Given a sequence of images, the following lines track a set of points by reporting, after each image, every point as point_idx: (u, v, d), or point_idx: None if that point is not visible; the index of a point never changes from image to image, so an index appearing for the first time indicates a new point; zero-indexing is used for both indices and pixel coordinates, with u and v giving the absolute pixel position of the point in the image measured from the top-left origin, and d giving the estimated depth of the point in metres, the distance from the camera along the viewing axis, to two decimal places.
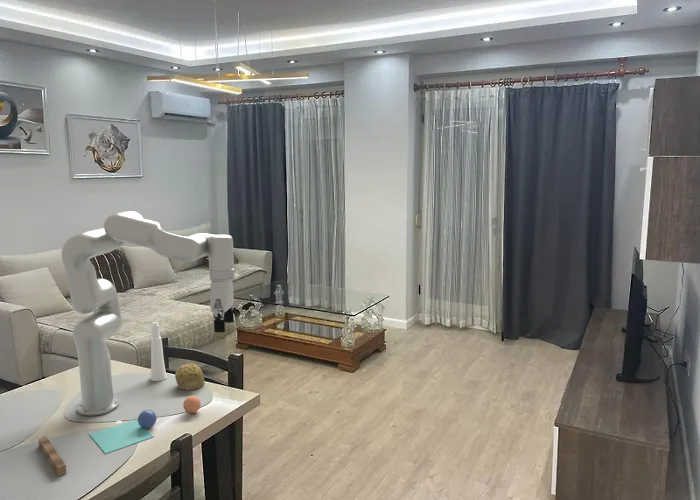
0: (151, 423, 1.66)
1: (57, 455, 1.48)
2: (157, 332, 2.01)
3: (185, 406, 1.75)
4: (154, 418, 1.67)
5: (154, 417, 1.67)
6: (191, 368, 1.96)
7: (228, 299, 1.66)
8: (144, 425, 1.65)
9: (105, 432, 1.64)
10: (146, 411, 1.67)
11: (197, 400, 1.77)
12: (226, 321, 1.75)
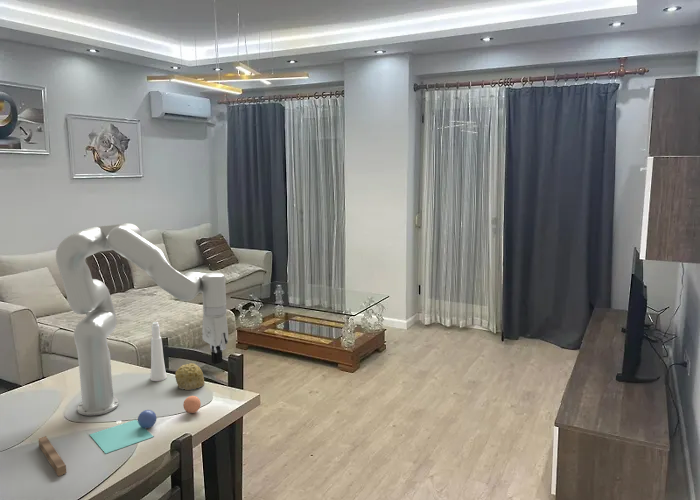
0: (151, 423, 1.66)
1: (57, 455, 1.48)
2: (157, 332, 2.01)
3: (185, 406, 1.75)
4: (154, 418, 1.67)
5: (154, 417, 1.67)
6: (191, 368, 1.96)
7: None
8: (144, 425, 1.65)
9: (105, 432, 1.64)
10: (146, 411, 1.67)
11: (197, 400, 1.77)
12: None
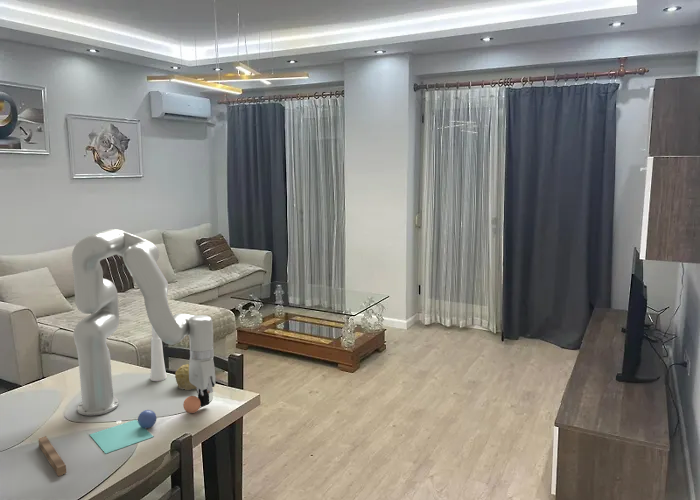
0: (151, 423, 1.66)
1: (57, 455, 1.48)
2: None
3: (185, 406, 1.75)
4: (154, 418, 1.67)
5: (154, 417, 1.67)
6: None
7: None
8: (144, 425, 1.65)
9: (105, 432, 1.64)
10: (146, 411, 1.67)
11: (197, 400, 1.77)
12: None
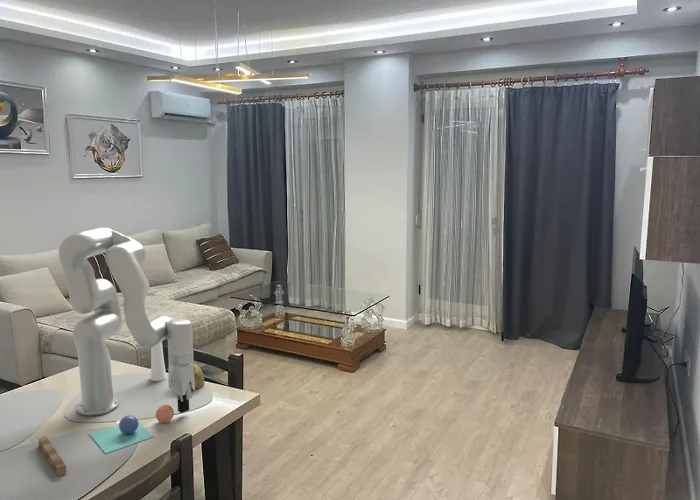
0: (133, 426, 1.62)
1: (57, 455, 1.48)
2: None
3: None
4: (127, 425, 1.61)
5: (126, 425, 1.61)
6: None
7: None
8: (136, 429, 1.64)
9: (105, 432, 1.64)
10: (121, 431, 1.62)
11: (164, 422, 1.69)
12: None
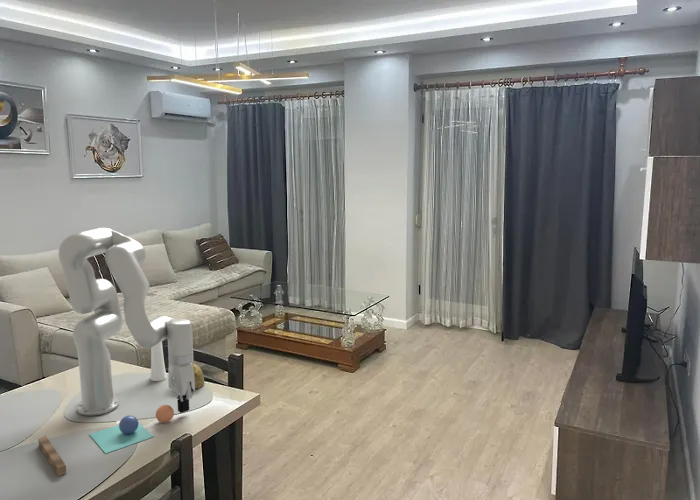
0: (133, 426, 1.62)
1: (57, 455, 1.48)
2: None
3: None
4: (127, 425, 1.61)
5: (126, 425, 1.61)
6: None
7: None
8: (136, 429, 1.64)
9: (105, 432, 1.64)
10: (121, 431, 1.62)
11: (164, 422, 1.69)
12: None
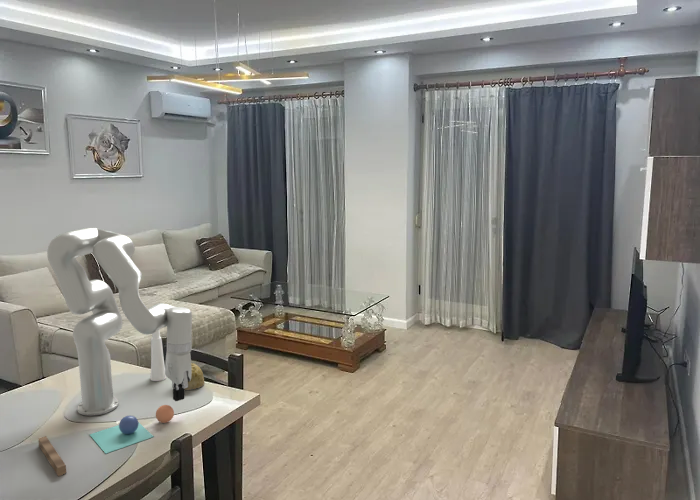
0: (133, 426, 1.62)
1: (57, 455, 1.48)
2: (157, 332, 2.01)
3: None
4: (127, 425, 1.61)
5: (126, 425, 1.61)
6: (191, 368, 1.96)
7: None
8: (136, 429, 1.64)
9: (105, 432, 1.64)
10: (121, 431, 1.62)
11: (164, 422, 1.69)
12: None
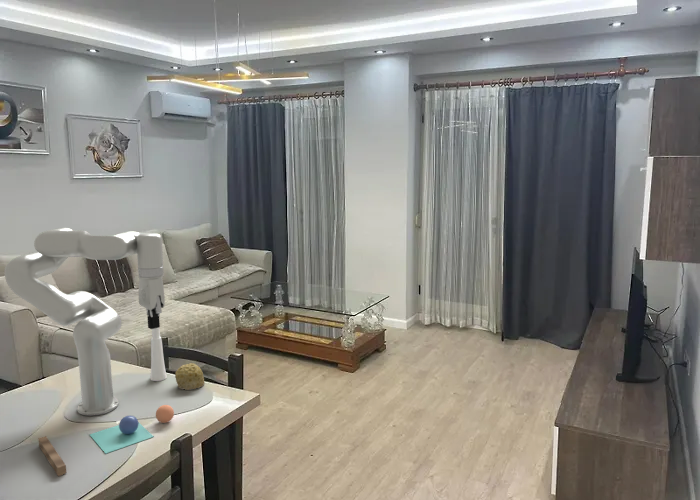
0: (133, 426, 1.62)
1: (57, 455, 1.48)
2: (157, 332, 2.01)
3: None
4: (127, 425, 1.61)
5: (126, 425, 1.61)
6: (191, 368, 1.96)
7: None
8: (136, 429, 1.64)
9: (105, 432, 1.64)
10: (121, 431, 1.62)
11: (164, 422, 1.69)
12: None
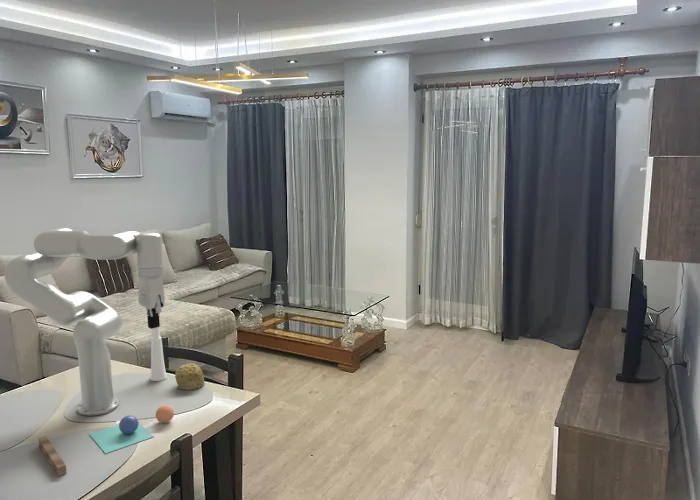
0: (133, 426, 1.62)
1: (57, 455, 1.48)
2: (157, 332, 2.01)
3: None
4: (127, 425, 1.61)
5: (126, 425, 1.61)
6: (191, 368, 1.96)
7: None
8: (136, 429, 1.64)
9: (105, 432, 1.64)
10: (121, 431, 1.62)
11: (164, 422, 1.69)
12: None
